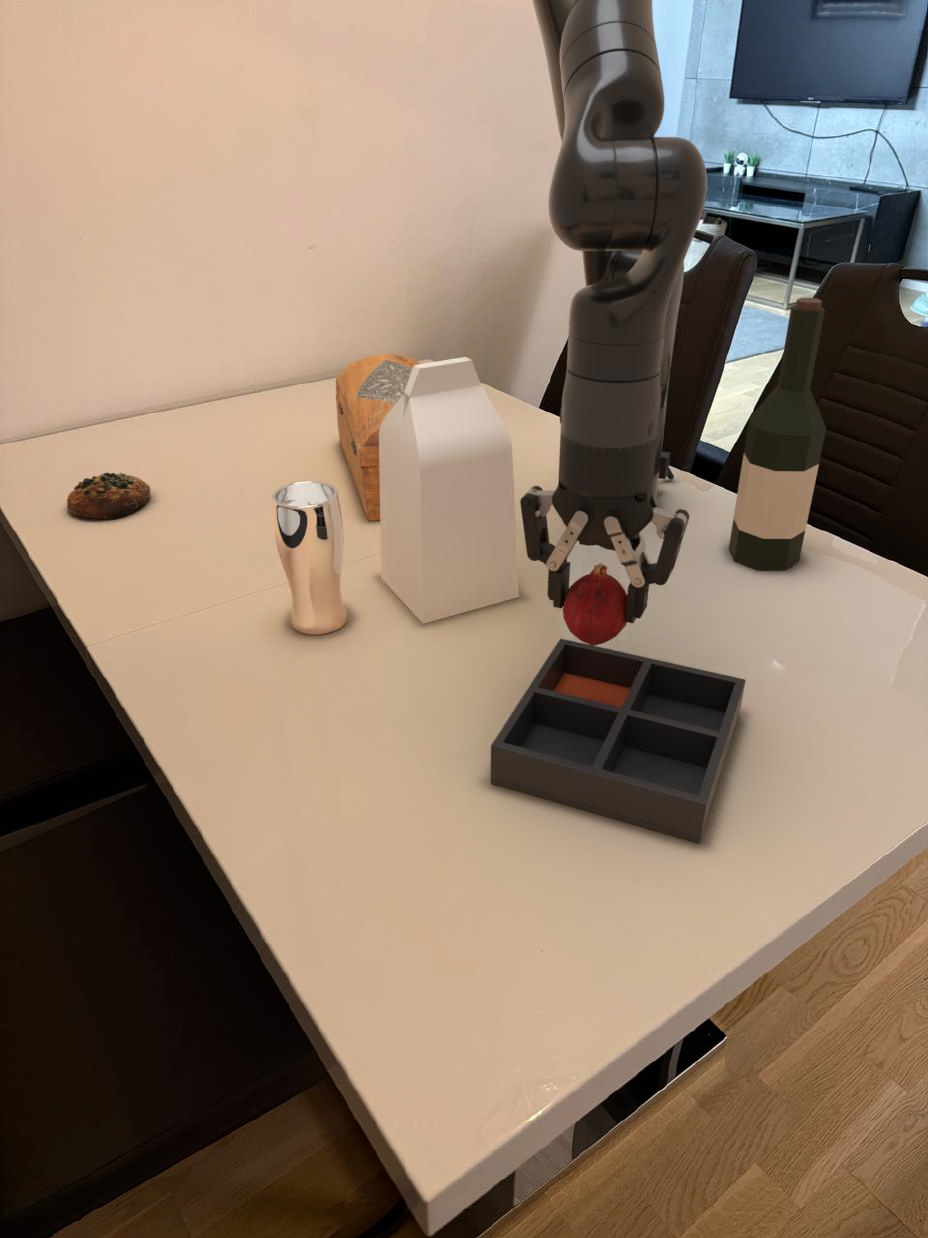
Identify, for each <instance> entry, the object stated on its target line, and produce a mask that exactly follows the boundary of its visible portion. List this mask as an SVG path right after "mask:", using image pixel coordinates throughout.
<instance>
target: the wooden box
mask: <svg viewBox="0 0 928 1238" xmlns="http://www.w3.org/2000/svg"><path fill="white" fill-rule="evenodd" d="M418 364H422V363H421V362H419V361H417V360H416V359H414V358H412V357H409V356H407V355H402V354H379V355H378V354H377V355H372V356H371V355H370V356H366V357H363V358H361V359H358V360H356V361H354V362H352V363H349V365H347V366H346V367H345V368H344V369H343V370H342V371H341V372H340V373H339V374H338V376H337V377H336V379H335V404H336V420H337V429H338V430H337V432H338V438H339V443H340V446H341V448H342V452H343V454H344V457H345V459H346V462H347V465H348V468H349V470H350V473H351V477H352V479H353V480H352V481H353V483H354V485H355V488H356V491H357V494H358V498H359V500H360V503H361V506H362V509H363V512H364V515H365V518H366V519H367V521H369V522H370V521H371V522H372V521H380V472H379V430H380V426H381V424H382V421H383V420H384V418H385V417H386V415H387V414H388V413H389V412H390V410H391V409H392V408H393V407H394V405H395V404H396V403H397V401H398V400H399V399H400V398H401V396H402V395H403V394H405V393H404V391H405V388H406V385H407V383H408V380H409V377H410V375H411V372H412V369H413V366H414V365H418Z"/></svg>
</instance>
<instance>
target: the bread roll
mask: <svg viewBox="0 0 928 1238" xmlns="http://www.w3.org/2000/svg"><path fill="white" fill-rule="evenodd" d="M150 496H151V486H150V485H149V484H148V482H146V481H144V480H142V479H141V478H140V477H137V476H134V475H129V474H126V473H123V472H120V473H115V472H111V473H110V472H104V473H101V474H99V475H97V476H96V475H93V476H92V477H91V478H89V477H86V478H83V480H82V481H79V482H78V483H77V485H75V486H74V487H73V490H71V492H69V494H68V495H67V499H66V503H67V504H66V509H67V510H68V511H69V512H70V513H71V514H74V515H75V516H79V517H82V518H90V519H95V520H98V519H102V520H107V521H110V520H111V521H112V520H115V519H118V518H122V517H123V516H126V515H129V514H131V513H133V512H135V510H139V509H140V508H142V506H144V505H145V504H146V503H147V500H148V498H150Z"/></svg>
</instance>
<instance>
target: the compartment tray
mask: <svg viewBox="0 0 928 1238" xmlns="http://www.w3.org/2000/svg"><path fill="white" fill-rule="evenodd" d="M745 686H746V679H745V678H740V677H736V676H731V675H727V674H724V673H723V674H722V673H718V672H713V671H709V670H704V669H700V668H695V667H691V666H686V665H682V664H678V663H674V662H673V663H672V662H668V661H663V660H659V659H656V658H650V657H646V656H642V655H638V654H633V653H628V652H623V651H620V650H614V649H611V648H606V647H601V646H598V645H595V646H593V645H589V644H587V643H585V642H580V641H574V640H571V639H566V638H559V640H558V641H557V643H556V644H555V646H554V647H553V649H552V651H551V652H550V654H549V655H548V656H547V658H546V659H545V661H544V663H543V665H542V666H541V668H540V669H539V670H538V672H537V674H536V675H535V676H534V678H533V680H532V681H531V683H530V685H529V686H528V687H527V689H526V690H525V692H524V694H523V696H522V697H521V698H520V700H519V701H518V703H517V704H516V706H515V708H514V709H513V711H511V714H510V715H509V717H508V718H507V720H506V722H505V723H504V725H503V726H502V728H501V729H500V731H499V732H498V734H497V736H496V737H495V739H494V740H493V742H491V744H490V784H492V785H497V786H500V787H503V788H507V789H510V790H514V791H517V792H520V793H524V794H527V795H530V796H534V797H538V798H541V799H544V800H548V801H552V802H555V803H559V804H562V805H565V806H569V807H572V808H576V809H578V810H582V811H586V812H590V813H593V814H596V815H600V816H603V817H607V818H610V819H614V820H617V821H621V822H624V823H628V824H631V825H635V826H638V827H641V828H645V829H648V830H652V831H655V832H659V833H662V834H666V835H669V836H673V837H676V838H679V839H683V840H687V841H689V842H693V843H696V844H700V843H701V841H702V838H703V835H704V832H705V829H706V825H707V822H708V818H709V815H710V812H711V808H712V805H713V802H714V799H715V796H716V793H717V789H718V785H719V783H720V779H721V777H722V773H723V769H724V767H725V763H726V759H727V756H728V753H729V750H730V748H731V745H732V744H731V743H732V742H733V737H734V734H735V731H736V729H737V728H736V727H737V723H738V721H739V717H740V713H741V707H742V703H743V697H744V690H745Z"/></svg>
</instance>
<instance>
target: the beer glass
mask: <svg viewBox="0 0 928 1238" xmlns="http://www.w3.org/2000/svg"><path fill="white" fill-rule="evenodd" d="M271 499H272V517H273V530H274V531H273V532H274V538H275V543H276V548H277V552H278V556H279V560H280V562H281V565H282V568H283V571H284V574H285V578H286V580H287V584H288V586H289V591H290V594H291V596H290V597H291V608H290V609H291V610H290V624H291V627H292V628H293V629H294V630H295V631H297V632H299V633H301V634H305V635H310V636H319V635H326V634H329V633H332V632H336V631H338V630H339V629H341V628H342V627H343V626H344V625H346V623H347V621H348V613H347V609H346V606H345V603H344V599H343V596H342V588H341V587H342V585H341V584H342V583H341V581H342V570H343V560H344V547H345V546H344V545H345V544H344V543H345V537H344V536H345V535H344V525H343V517H342V511H341V505H340V501H339V500H340V499H339V493H338V489H337V487H336V486H335V485H333V484H331V483H328V482H325V481H319V480H301V481H295V482H289V483H287V484H285V485H282V486H280V487H278V488H277V489H275V490H274V491H273V493H272V495H271Z"/></svg>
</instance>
